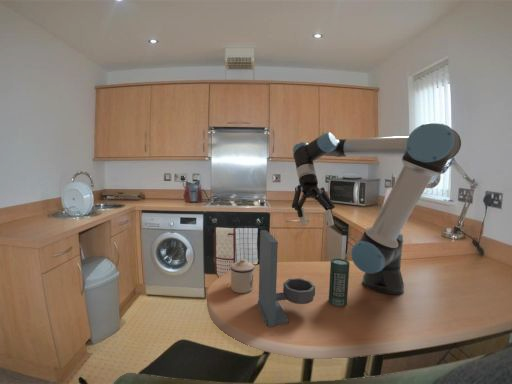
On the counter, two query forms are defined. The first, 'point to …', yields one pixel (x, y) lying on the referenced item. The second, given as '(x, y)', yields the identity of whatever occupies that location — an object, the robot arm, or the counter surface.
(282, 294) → the cup bracket
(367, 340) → the counter surface
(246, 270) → the teacup with lid
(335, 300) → the can
